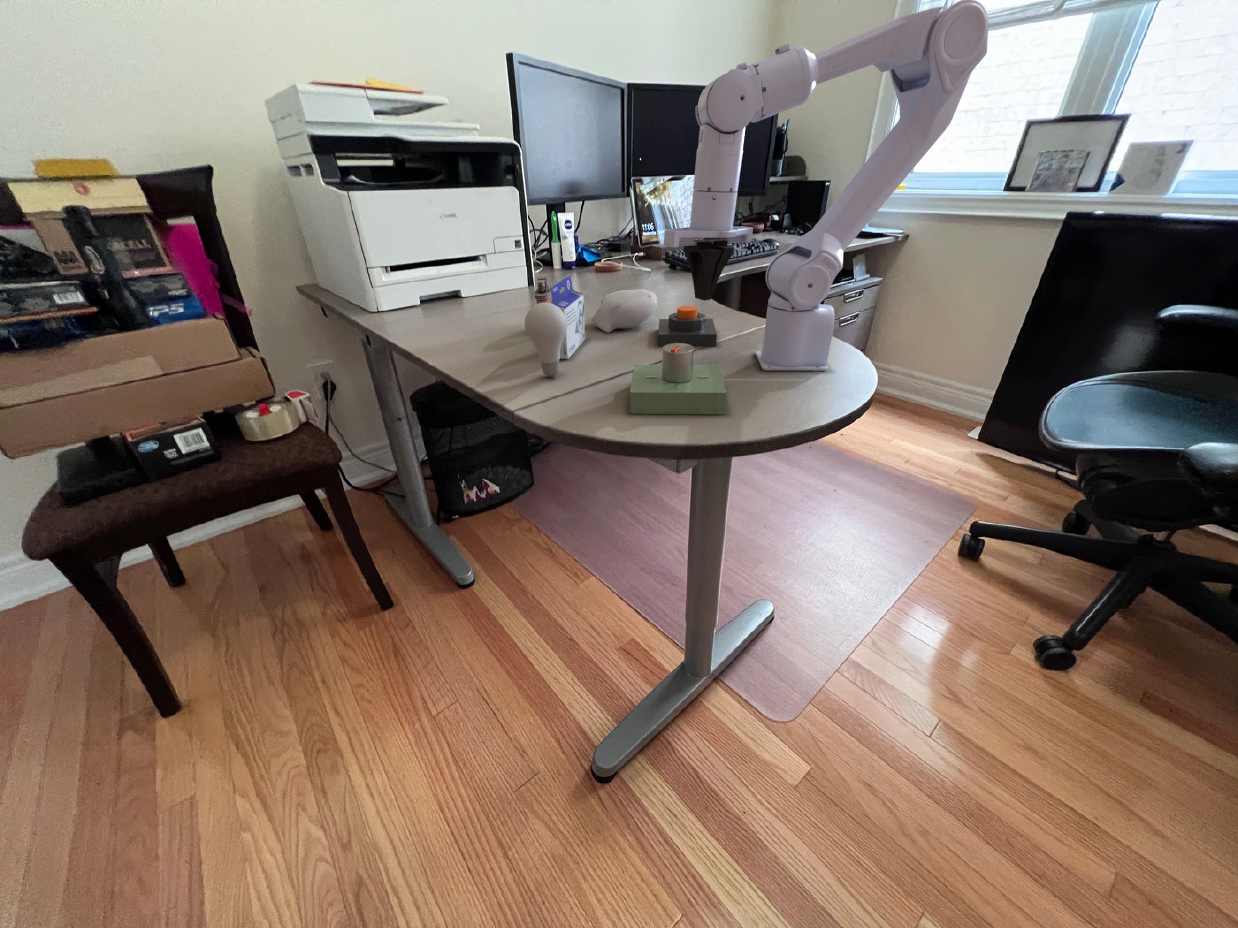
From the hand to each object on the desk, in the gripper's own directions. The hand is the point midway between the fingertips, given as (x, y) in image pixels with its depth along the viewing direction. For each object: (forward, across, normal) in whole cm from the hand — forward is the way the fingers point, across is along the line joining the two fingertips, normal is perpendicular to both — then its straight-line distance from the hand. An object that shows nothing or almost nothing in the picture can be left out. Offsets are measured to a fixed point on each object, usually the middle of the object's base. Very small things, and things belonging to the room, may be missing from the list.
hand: (702, 298), depth 71 cm
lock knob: (+8, -10, -7) cm, 14 cm away
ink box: (+12, -10, +20) cm, 26 cm away
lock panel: (+11, -10, -7) cm, 16 cm away
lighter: (+12, -8, +34) cm, 37 cm away
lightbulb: (+12, -19, +11) cm, 25 cm away
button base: (+10, +9, +12) cm, 19 cm away
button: (+7, +9, +13) cm, 17 cm away
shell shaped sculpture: (+11, +6, +27) cm, 30 cm away
